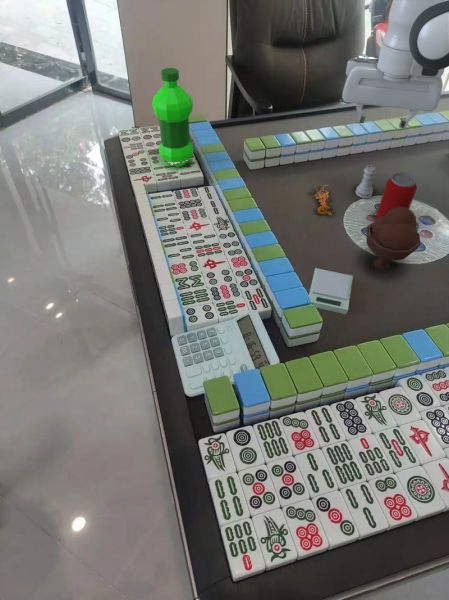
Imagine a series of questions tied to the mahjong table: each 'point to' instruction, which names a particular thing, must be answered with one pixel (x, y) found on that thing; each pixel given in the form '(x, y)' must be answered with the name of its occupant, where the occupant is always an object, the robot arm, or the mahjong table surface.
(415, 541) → the mahjong table surface
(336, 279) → the scale
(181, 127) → the plastic bottle
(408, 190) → the beverage can
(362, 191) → the rook chess piece
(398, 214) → the ice cream bowl
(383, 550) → the mahjong table surface
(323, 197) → the dragon
